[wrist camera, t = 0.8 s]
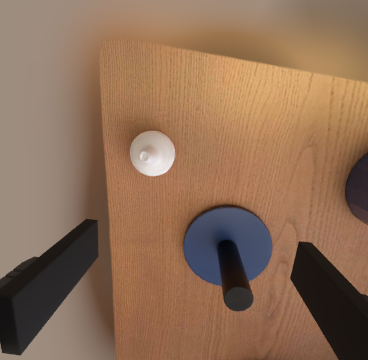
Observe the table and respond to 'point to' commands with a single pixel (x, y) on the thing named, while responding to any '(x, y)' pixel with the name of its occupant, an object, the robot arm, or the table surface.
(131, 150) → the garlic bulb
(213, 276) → the lid
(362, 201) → the pot
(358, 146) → the table surface
